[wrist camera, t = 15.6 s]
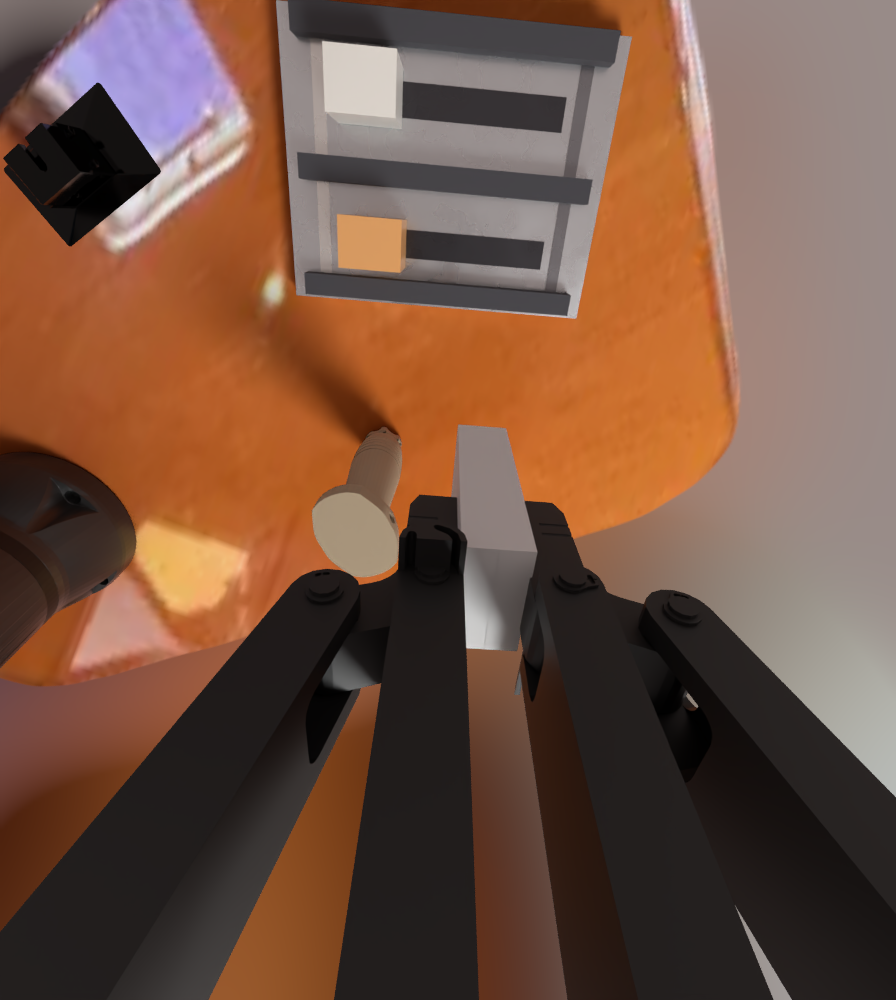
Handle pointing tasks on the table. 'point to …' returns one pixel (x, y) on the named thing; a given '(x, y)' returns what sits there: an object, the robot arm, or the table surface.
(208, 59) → the table surface
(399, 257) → the toggle
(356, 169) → the slotted rail tray
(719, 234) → the table surface
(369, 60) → the toggle
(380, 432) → the handle
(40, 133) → the black notched stand
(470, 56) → the panel
